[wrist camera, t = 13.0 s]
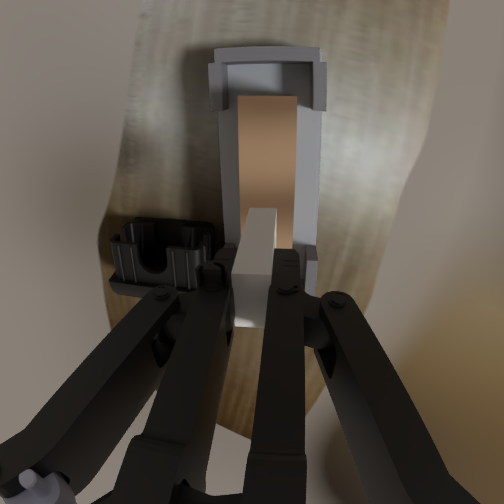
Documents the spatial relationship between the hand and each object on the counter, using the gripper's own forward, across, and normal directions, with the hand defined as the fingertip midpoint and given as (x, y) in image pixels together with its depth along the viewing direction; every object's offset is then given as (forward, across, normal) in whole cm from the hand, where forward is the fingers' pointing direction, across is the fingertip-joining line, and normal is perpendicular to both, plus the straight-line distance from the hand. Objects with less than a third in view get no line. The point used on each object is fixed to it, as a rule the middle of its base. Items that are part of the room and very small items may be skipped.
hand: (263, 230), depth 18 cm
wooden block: (+12, 0, -1) cm, 12 cm away
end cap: (+13, -11, -9) cm, 19 cm away
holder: (+13, 0, -1) cm, 13 cm away
